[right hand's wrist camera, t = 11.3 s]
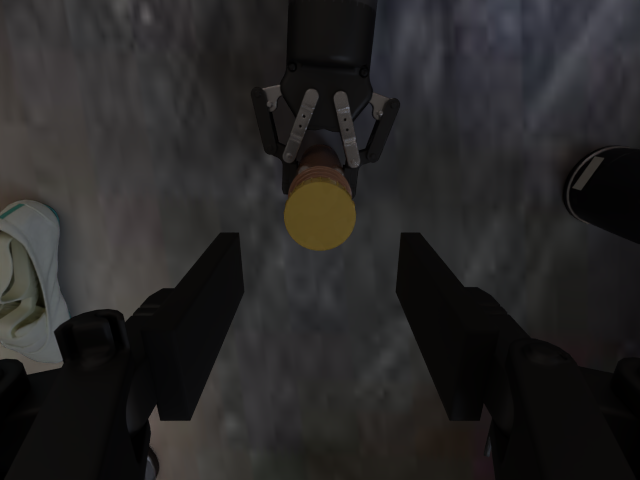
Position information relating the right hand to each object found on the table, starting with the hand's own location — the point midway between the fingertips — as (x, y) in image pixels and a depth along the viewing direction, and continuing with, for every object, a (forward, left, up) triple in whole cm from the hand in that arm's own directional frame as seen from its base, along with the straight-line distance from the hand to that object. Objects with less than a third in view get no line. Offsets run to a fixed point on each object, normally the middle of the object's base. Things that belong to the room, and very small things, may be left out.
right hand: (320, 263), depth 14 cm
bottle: (0, 0, -28) cm, 28 cm away
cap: (0, 0, -7) cm, 7 cm away
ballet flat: (-34, -22, -28) cm, 49 cm away
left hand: (0, -3, -21) cm, 22 cm away
